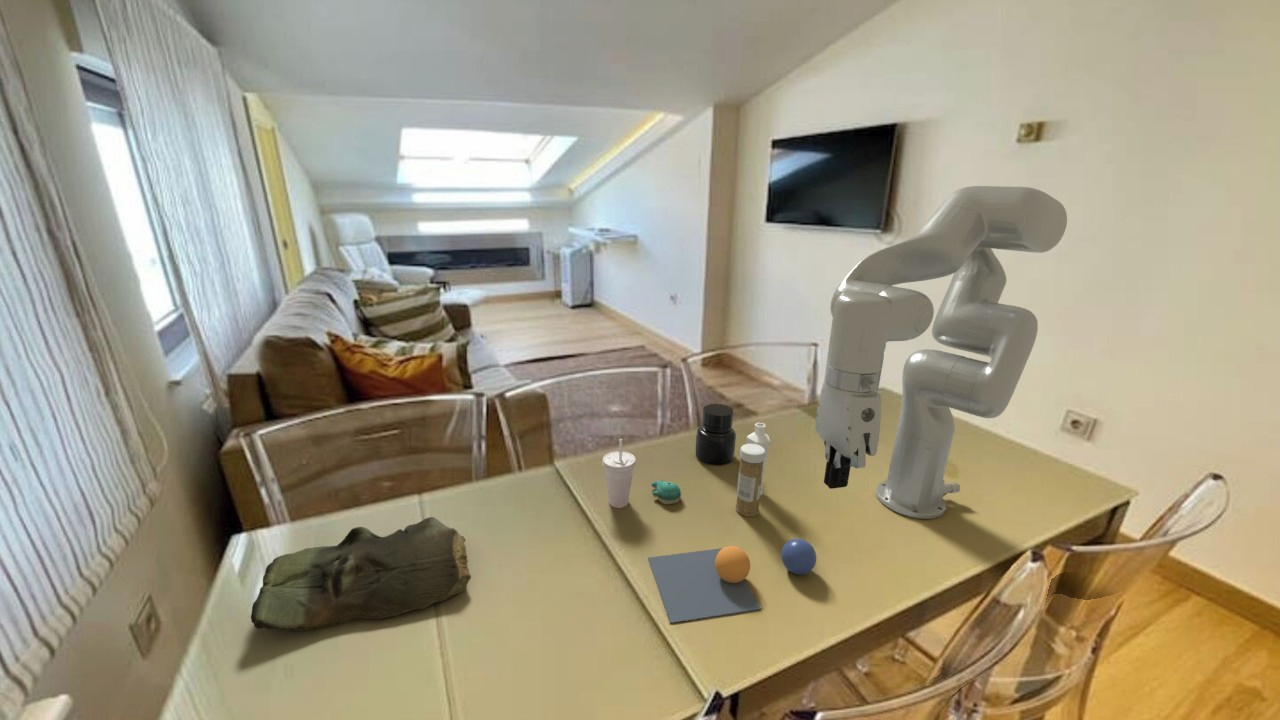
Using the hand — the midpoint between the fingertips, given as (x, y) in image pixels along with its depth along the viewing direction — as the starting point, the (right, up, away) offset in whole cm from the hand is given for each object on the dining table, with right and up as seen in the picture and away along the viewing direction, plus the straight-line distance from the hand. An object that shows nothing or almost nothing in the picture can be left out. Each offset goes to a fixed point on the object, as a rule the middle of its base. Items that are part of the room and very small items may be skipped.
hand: (835, 484), depth 83 cm
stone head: (-72, -15, -1) cm, 74 cm away
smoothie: (-35, -8, +20) cm, 41 cm away
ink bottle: (-14, -3, +38) cm, 41 cm away
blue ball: (-5, -12, +2) cm, 13 cm away
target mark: (-21, -15, 0) cm, 26 cm away
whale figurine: (-26, -8, +23) cm, 36 cm away
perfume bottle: (-8, -7, +25) cm, 27 cm away
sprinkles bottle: (-10, -10, +19) cm, 24 cm away
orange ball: (-16, -13, 0) cm, 21 cm away
